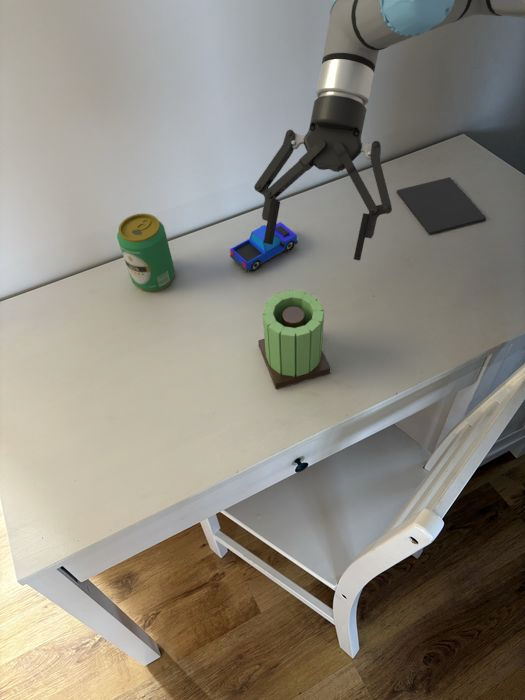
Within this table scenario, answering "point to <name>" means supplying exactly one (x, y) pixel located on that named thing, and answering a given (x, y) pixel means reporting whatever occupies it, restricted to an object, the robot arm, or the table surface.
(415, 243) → the table surface
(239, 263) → the toy car
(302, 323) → the stacking stand
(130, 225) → the beverage can
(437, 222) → the rubber mat
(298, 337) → the green tube
